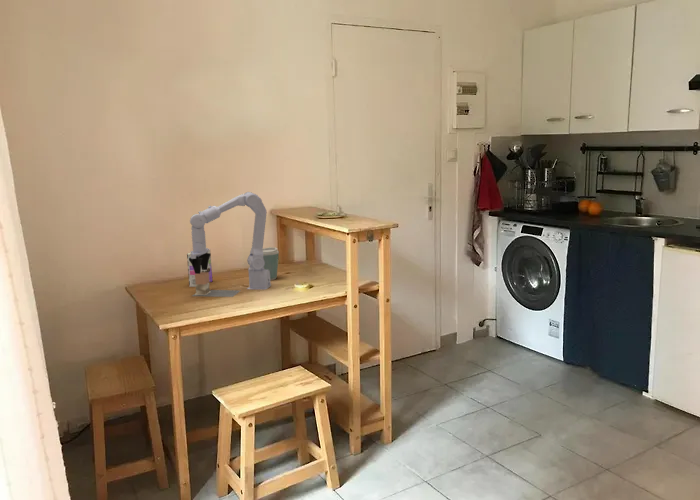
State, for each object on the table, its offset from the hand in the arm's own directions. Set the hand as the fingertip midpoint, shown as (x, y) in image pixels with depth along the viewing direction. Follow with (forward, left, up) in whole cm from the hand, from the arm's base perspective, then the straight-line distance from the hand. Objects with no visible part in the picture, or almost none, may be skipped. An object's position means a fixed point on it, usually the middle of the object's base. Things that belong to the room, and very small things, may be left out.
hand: (201, 271), depth 261 cm
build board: (-7, 0, -10) cm, 12 cm away
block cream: (0, 0, -10) cm, 10 cm away
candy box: (+8, -18, -11) cm, 23 cm away
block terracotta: (0, 0, -5) cm, 5 cm away
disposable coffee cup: (-22, -31, -11) cm, 39 cm away
